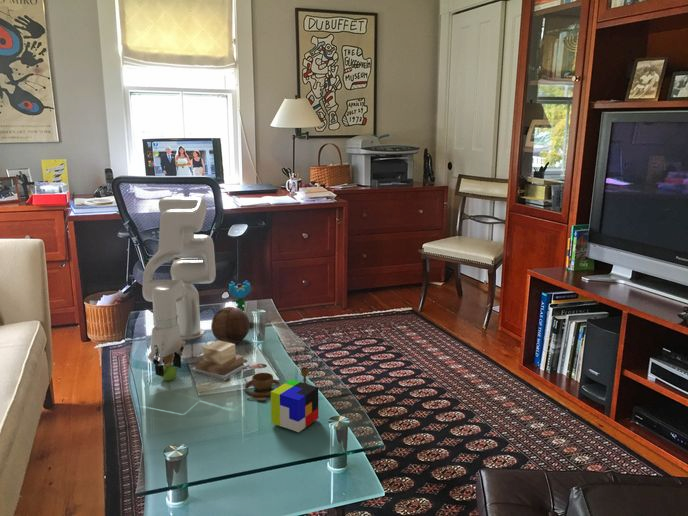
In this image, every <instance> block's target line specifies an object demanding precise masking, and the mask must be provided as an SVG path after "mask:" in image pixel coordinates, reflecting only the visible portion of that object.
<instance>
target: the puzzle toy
mask: <svg viewBox="0 0 688 516" xmlns="http://www.w3.org/2000/svg"><path fill="white" fill-rule="evenodd" d="M270 391H271V395H270V416H271V417H270V419H271V421H270V422H271V424H273V425H276V426H279V427H282V428H285V429H288V430H291V431H294V432H297V433H300V432H301V431H303V430H304V429H305V428H307V427H308V426H310V425H311V424H312V423H313V422H315V421H317V420H318V419H319V387H318V386H314V385H311V384H308V383H304V382H303V381H302V382H301V381H298V380H294V379H289V380H288V381H286V382H284V383H283V384H281V386H280V387H278V386H277V387H276V388H275V389H273V390H270Z"/></svg>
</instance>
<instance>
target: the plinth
mask: <svg viewBox="0 0 688 516" xmlns="http://www.w3.org/2000/svg"><path fill="white" fill-rule="evenodd" d="M202 354H203V356H202V357H201V358H199V359H197V360H196V361H195V366H196V369H198V370H202V371H206V372H210V373H214V374H218V375H221V376H223V375H225V374H227V373H229V372H230V371H232V370H234V369H236V368H237V367H239V366H241V365H243V364H244V363H245V362H244V360H245V359H244V356H243V355H240V354H236V344H233V343H228V342H224V341H219V340H217V339H216V340H215V341H213V342H211V343H209V344H207V345H205V346H203V347H202Z"/></svg>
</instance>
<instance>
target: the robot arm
mask: <svg viewBox="0 0 688 516" xmlns="http://www.w3.org/2000/svg"><path fill="white" fill-rule="evenodd" d="M207 209H208V208H207V203H206V200H205V199H204V198H203V197H201V196H200V197H198V196H167V197H162V198H161V199H159V200H158V210H159V212H160V219H159V220H160V221H159V231H158V233H159V235H158V250H157V252H155V254H153V255H152V257H151V258H150V259H149V261H148V262H147V264H146V265H145V267H144V271H143V274H142V277H143V278H142V297H143V298H144V300H145V301H146V302H152V313H153V327H152V329H151V338H150V339H151V340H150V353H149V355H148V356H147V359H148V360H149V361H150V363H152V364H153V365H154V371H155V375H156V376H159V377H161V376H164V369H163V367H164V366H163V365H164V364H163V359H164V357H166V356H168V355H171V354H173V353H174V360H173V362H172V365H173V366H174V367H175V368H182V356H183V351H184V349H185V345H186V341H187V340H195V339H198V338H200V337H202V336H204V335H205V330H204V329H203V328H202V327H201V315H200V313H201V312H200V296H199V292H198V290H197V289H198V288H196V287H195V285H197V284H198V285H199V284H200V285H201V284H202V285H203V284H212V283H213V282H215V280H216V276H217V275H216V270H217V268H216V257H215V245H214V241H213V239H212V237H211V236H210V235H207V234H195V233H199V232H201V230H202V228H203V225H204V222H205V218H206V215H207ZM177 258H178V259H183V260H181V261H177V262H175V263H173V262H172V265H171V266H170V270H171V273H170V275H171V276H172V277H171V279H154V275H155V272H156V270H158V268H160V267H161V266H162V265H163V264H166V263H168V262H169V261H172V260H175V259H177ZM197 259H198V260H197Z"/></svg>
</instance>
